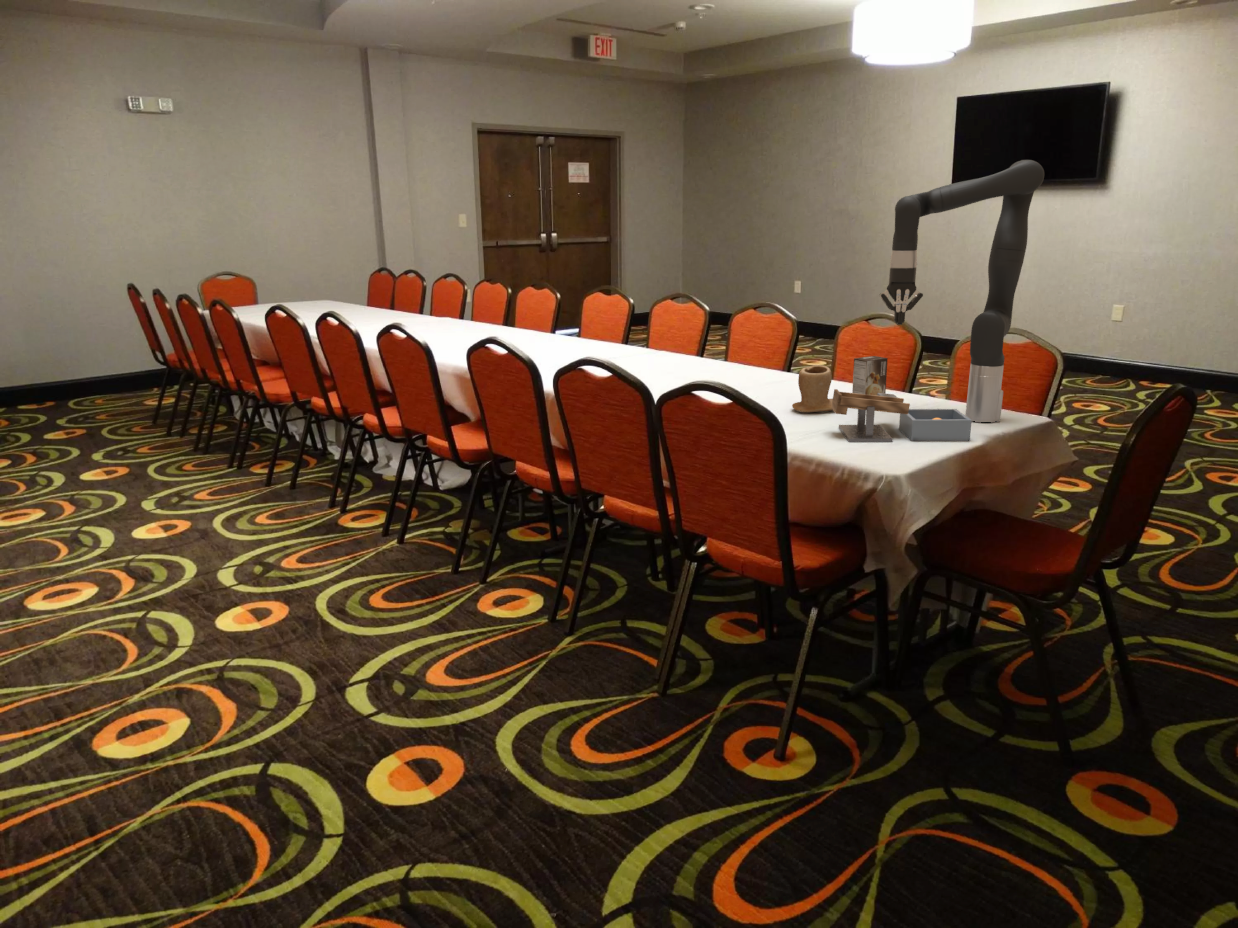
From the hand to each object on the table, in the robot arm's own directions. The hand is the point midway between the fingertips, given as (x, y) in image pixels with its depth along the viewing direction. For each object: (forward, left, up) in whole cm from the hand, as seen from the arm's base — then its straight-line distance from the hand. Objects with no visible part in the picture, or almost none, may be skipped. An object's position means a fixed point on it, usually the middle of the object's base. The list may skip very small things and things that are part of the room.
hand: (898, 324), depth 255 cm
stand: (+13, +22, -29) cm, 39 cm away
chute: (+12, +17, -23) cm, 31 cm away
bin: (-6, +22, -29) cm, 37 cm away
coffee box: (+4, -16, -29) cm, 34 cm away
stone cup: (+22, -8, -29) cm, 38 cm away
